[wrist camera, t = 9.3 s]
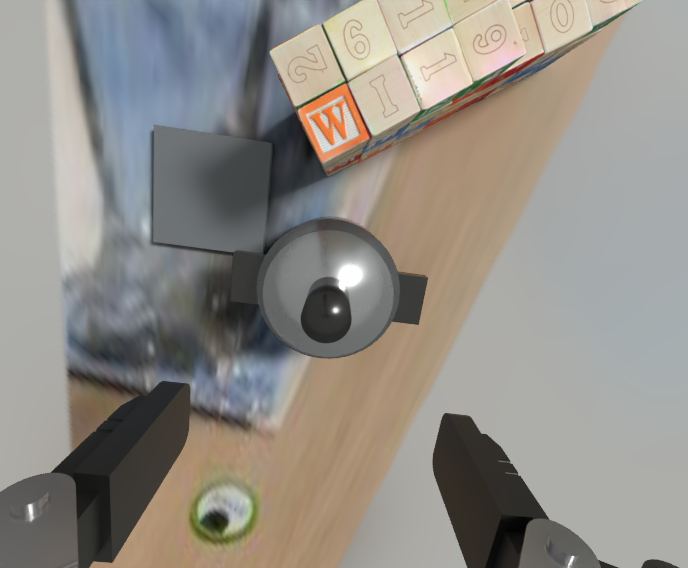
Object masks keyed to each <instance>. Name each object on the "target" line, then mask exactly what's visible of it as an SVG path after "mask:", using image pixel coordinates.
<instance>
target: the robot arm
mask: <svg viewBox="0 0 688 568" xmlns="http://www.w3.org/2000/svg"><path fill="white" fill-rule="evenodd" d="M189 415H190V386H189V384H186V383H177V382H168V381H162V382H160V383H159V384H158V385H157V386H156V387H155V388H154V389H153V390H152V391H151V392H150V393H149V394H148V396H147V397H145V396H138V397H136V398H134V399H133V400H131V401H129V402H127V403H125V404H123V405H121V406H120V407H119V408H118V409H117V410H116V411H115V412H114V413H113V414H112V415H111V416H110V417H109V418H108V420H107V421H104V422H103V423H102V424H101V425H100V426H99V427H98V428H97V430H96V432H93V433H92V434H91V435H90V436H89V437H88V438H86V439H85V440H84V441H83V442H82V443H81V444H80V445H79V446H78V447H77V448H76V449H75V450H74V451H73V452H72V453H71V454H70V455H69V456H68V457H66V458H65V459H64V460H63V461H62V462H61V463H60V464H59V465H58V466H57V467H56V468H55V469H54V470H53V471H52V472H51V473H45V474H40V475H36V476H32V477H29V478H27V479H24V480H22V481H19V482H17V483H15V484H13V485H11V486H9V487H7V488H6V489H4V490H3V491H1V492H0V568H89V567H90V565H91V564H92V562H93V561H97V562H110V563H112V562H113V561H114V559H115V558H116V556H117V554H118V553H119V551H120V550H121V548H122V546H123V545H124V543H125V541H126V540H127V538H128V537H129V535H130V533H131V532H132V530H133V529H134V527H135V525H136V524H137V522H138V520H139V519H140V517H141V516H142V514H143V512H144V511H145V509H146V508H147V506H148V504H149V503H150V501H151V499H152V498H153V496H154V495H155V493H156V491H157V490H158V488H159V486H160V485H161V483H162V482H163V480H164V478H165V477H166V475H167V474H168V472H169V470H170V469H171V467H172V465H173V464H174V462H175V461H176V459H177V457H178V456H179V454H180V453H181V451H182V449H183V447H184V445H185V442H186V439H187V436H188V431H189ZM433 471H434V476H435V479H436V481H437V484H438V487H439V490H440V492H441V495H442V498H443V501H444V504H445V507H446V509H447V512H448V515H449V518H450V520H451V523H452V526H453V529H454V532H455V534H456V537H457V540H458V543H459V546H460V548H461V551H462V554H463V557H464V560H465V562H466V565H467V568H618V567H615V566H612V565H610V564H607V563H605V562H602V561H600V560H598V559H597V557H596V555H595V554H594V553H593V551H592V550H591V549H590V547H589V546H588V545H587V544H586V543H585V542H584V541H583V540H582V539H581V538H580V537H579V536H578V535H576V534H575V533H574V532H572V531H571V530H570V529H568V528H566V527H564V526H563V525H561V524H559V523H557V522H554V521H551V520H549V518H548V517H547V515H546V514H545V512H544V511H543V509H542V508H541V506H540V505H539V503H538V502H537V500H536V499H535V497H534V496H533V494H532V493H531V491H530V490H529V488H528V487H527V485H526V484H525V482H524V481H523V479H522V478H521V476H518V472H517V470H516V469H515V467H514V466H513V464H510V460H509V458H508V457H507V455H506V454H505V452H504V451H503V449H502V448H501V447H500V446H499V445H498V444H497V443H495V441H493V440H492V439H491V438H490V437H489V436H488V435H487V434H481V433H480V431H479V430H478V428H477V426H476V425H475V423H474V421H473V420H472V418H471V417H470V416H466V415H458V414H449V413H445V414H444V415H443V417H442V420H441V424H440V428H439V432H438V436H437V440H436V444H435V448H434V453H433ZM641 568H678V567H677V566H674V565H672V564H670V563H667V562H664V561H660V560H653V559H652V560H647V561H645V562H644V564H643V566H642V567H641Z"/></svg>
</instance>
